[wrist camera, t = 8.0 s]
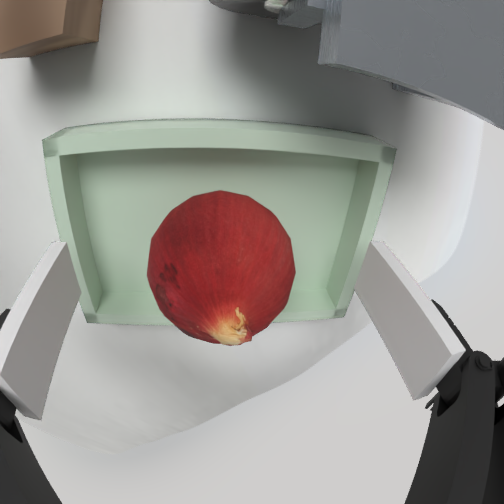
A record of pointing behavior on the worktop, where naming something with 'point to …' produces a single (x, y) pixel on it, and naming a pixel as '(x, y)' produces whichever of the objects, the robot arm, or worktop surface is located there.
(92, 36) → the block
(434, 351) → the robot arm
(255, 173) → the tray
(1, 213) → the worktop surface
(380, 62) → the caster wheel
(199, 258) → the onion
